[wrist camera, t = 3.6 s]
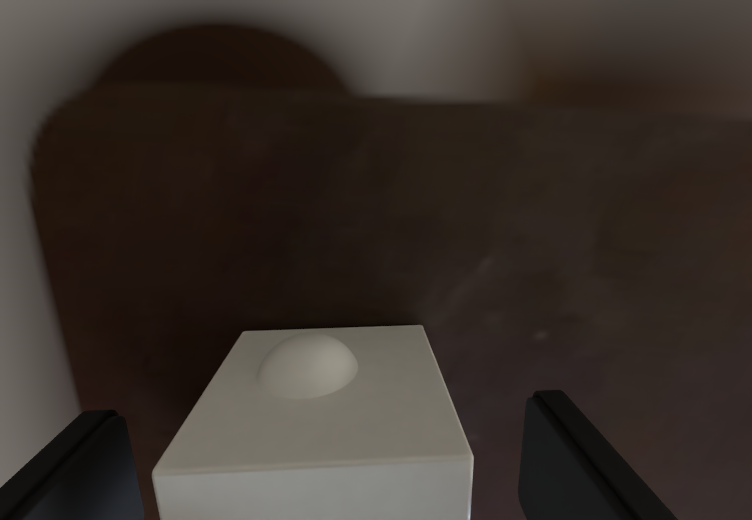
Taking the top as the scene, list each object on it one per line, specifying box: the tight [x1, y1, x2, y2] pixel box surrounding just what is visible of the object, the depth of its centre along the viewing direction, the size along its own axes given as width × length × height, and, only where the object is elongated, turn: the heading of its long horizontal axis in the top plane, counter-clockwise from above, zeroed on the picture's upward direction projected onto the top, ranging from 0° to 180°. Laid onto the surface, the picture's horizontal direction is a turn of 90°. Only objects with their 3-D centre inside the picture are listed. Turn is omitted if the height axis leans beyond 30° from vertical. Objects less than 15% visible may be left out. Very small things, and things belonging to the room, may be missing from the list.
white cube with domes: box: [152, 325, 474, 520], centre depth 8 cm, size 6×5×5 cm
